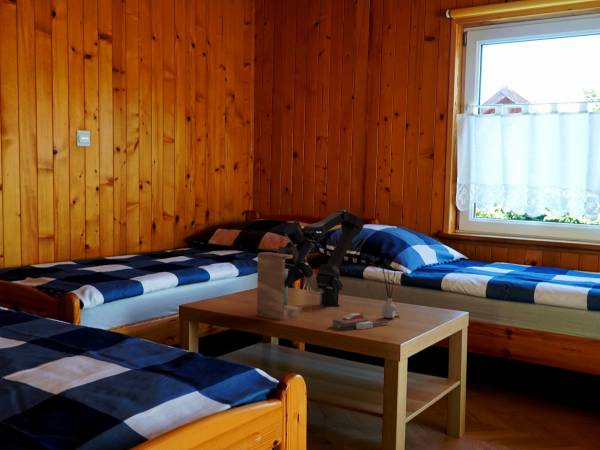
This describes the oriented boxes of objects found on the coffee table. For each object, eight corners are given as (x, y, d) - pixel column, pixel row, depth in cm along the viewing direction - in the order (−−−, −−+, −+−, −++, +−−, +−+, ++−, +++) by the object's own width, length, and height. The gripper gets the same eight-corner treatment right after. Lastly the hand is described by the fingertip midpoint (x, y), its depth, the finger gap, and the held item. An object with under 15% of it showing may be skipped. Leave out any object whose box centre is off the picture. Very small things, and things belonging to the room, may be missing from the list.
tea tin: (289, 303, 236) (289, 268, 235) (285, 306, 231) (286, 270, 230) (275, 302, 237) (276, 267, 236) (272, 305, 232) (272, 269, 231)
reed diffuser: (387, 321, 228) (388, 265, 227) (371, 317, 233) (373, 262, 231) (403, 317, 236) (405, 262, 234) (388, 314, 240) (390, 260, 239)
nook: (278, 310, 242) (279, 251, 240) (301, 315, 234) (303, 254, 232) (256, 314, 234) (257, 253, 232) (280, 320, 226) (282, 256, 224)
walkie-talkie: (345, 333, 211) (389, 326, 222) (345, 320, 210) (390, 313, 222) (328, 328, 218) (372, 321, 229) (328, 315, 217) (373, 309, 229)
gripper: (271, 236, 241) (249, 268, 234) (308, 240, 229) (286, 274, 221) (285, 255, 247) (264, 287, 240) (322, 260, 235) (301, 294, 228)
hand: (278, 285), depth 232 cm, fingers closed on tea tin, 5 cm apart
